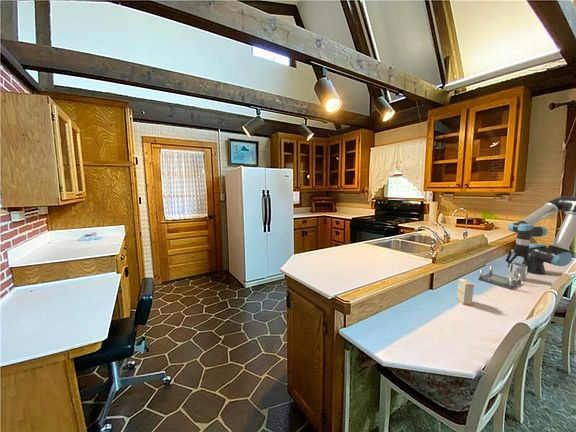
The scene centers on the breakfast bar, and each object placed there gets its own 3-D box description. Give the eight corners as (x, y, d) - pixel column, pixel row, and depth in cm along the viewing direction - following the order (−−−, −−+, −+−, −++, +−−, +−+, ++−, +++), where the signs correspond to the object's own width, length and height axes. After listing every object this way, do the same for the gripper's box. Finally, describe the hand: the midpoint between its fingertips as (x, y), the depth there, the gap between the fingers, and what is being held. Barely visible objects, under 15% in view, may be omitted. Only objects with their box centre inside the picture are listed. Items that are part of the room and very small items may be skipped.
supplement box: (471, 305, 144) (474, 284, 142) (462, 304, 145) (465, 283, 143) (464, 298, 152) (467, 279, 150) (456, 298, 153) (458, 278, 151)
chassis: (489, 274, 192) (490, 265, 191) (521, 283, 176) (522, 274, 175) (478, 279, 182) (479, 270, 181) (510, 289, 166) (512, 279, 165)
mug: (513, 275, 192) (515, 262, 190) (527, 279, 184) (529, 265, 183) (506, 278, 186) (508, 264, 184) (520, 282, 179) (523, 268, 177)
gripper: (502, 241, 188) (498, 269, 191) (540, 248, 170) (535, 279, 173) (506, 240, 192) (502, 268, 195) (544, 247, 174) (538, 277, 177)
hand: (517, 273), depth 184 cm, fingers closed on mug, 8 cm apart
